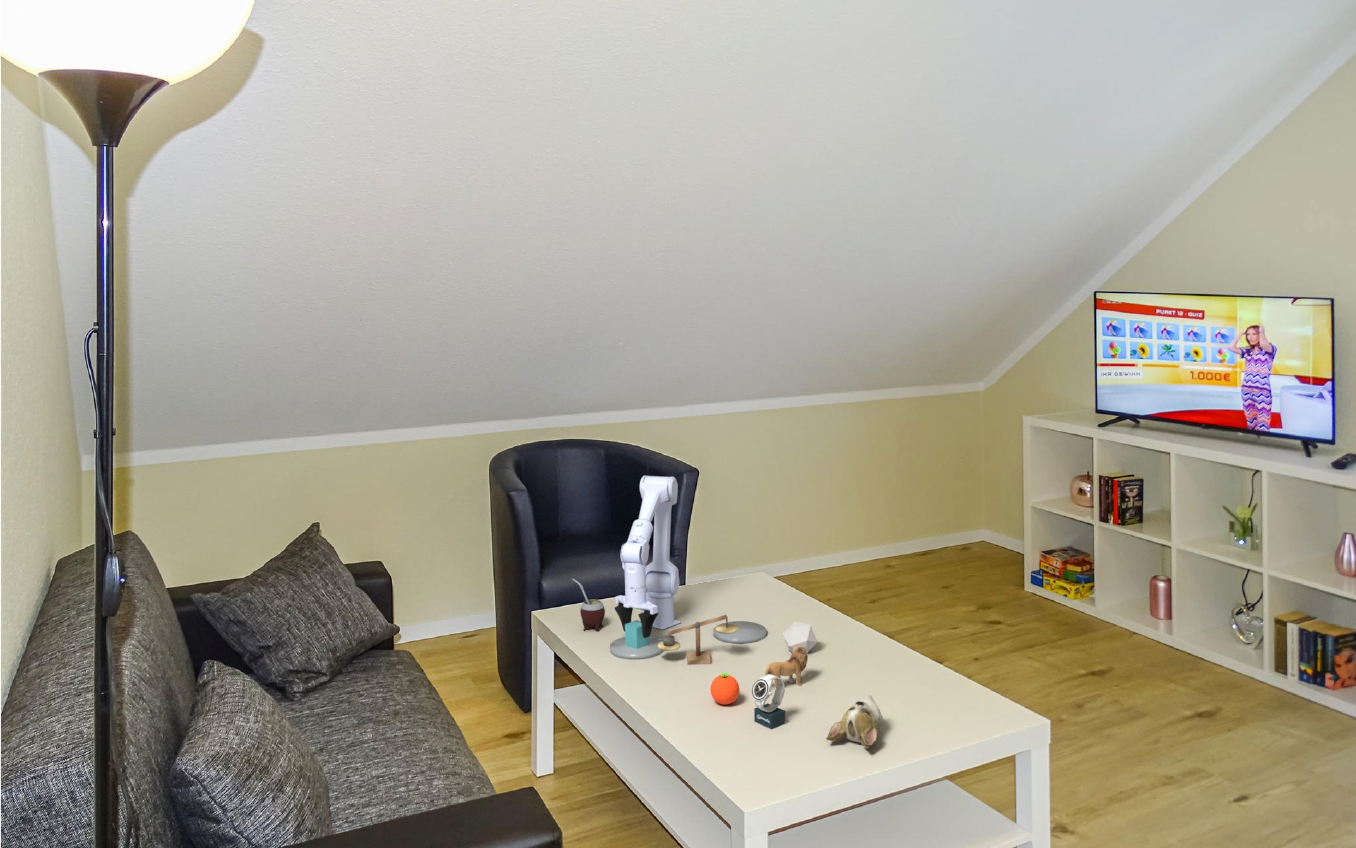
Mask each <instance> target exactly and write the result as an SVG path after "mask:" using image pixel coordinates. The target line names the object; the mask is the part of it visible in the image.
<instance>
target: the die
mask: <svg viewBox="0 0 1356 848" xmlns="http://www.w3.org/2000/svg"><path fill="white" fill-rule="evenodd" d="M782 637H783V640H784V642H785V644H786V648H787V649H788V651H789V652H791V653H792V652H793V649H794V648H795V647H796V646H803V647H805V649H806V650H807V653H809V651H810V650H812V648H813V647H814V646H815V645H816V644H818V641H817V637H816V635H815V632H814V630H813V627H812V625H811V624H809V623H804V622H800V621H797V620H795V621H794V622H793V623H791V625H790V626H789V627H788V628H787V629H785V630H784V631H783V633H782Z"/></svg>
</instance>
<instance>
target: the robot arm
mask: <svg viewBox="0 0 1356 848" xmlns="http://www.w3.org/2000/svg"><path fill="white" fill-rule="evenodd" d="M639 481H640V482H639V492H640V496H641V499H642V501H641V506H640V511H639V515H638V519H635V520H634V521H633V523H632V526H631V529H630V531H629V535H628V538H627V541H626V542H625V543H622V545H621V549H620V561H621V564H622V569H623V571H624V591H625V594H624V595H621V594H620V595H616V596H615V597H614V599H615V605H617V606H615V607H614V610H615V612H616V614H617V616H618V618H619V620H620V623H621V626H622V630H623V632H624V633H625V624H627V623H630V622H632V615H633V610H634V609H637V610H640V611H641V613H638V618H639V619H640V620H639V621H641V624H642V634H643V638H647V637H650V636H651V634H652V629H653V628H655V629H658V630H665V629H668V628H670V627H671V628H672V627H674V626H675V625H679V624H681V620H679V619H678V620H677V619H675V608H674V607H675V606H674V605H675V603H674V602H675V601H674V600H675V595H676V594H677V593H678V591H679V589H680V576H679V568H678V567H677V566H676V565H675V564H673V562H671V561H670V555H671V553H670V551H671V550H670V549H671V525H672V524H671V523H672V506H673V505H676V504H677V502H678V493H679V489H678V487H679V485H678V482H677V479H676V478H675V476H657V475H656V476H655V475H643V476H642V477H641V479H640V480H639ZM653 518H654V519H653ZM652 521H654V522H653V524H652ZM652 533H653V544H652V545H653V548H652V550H653V551H652V561H651V562H649V564H647V562H648V560H649V554H650V553H649V552H650V551H649V550H650V543H649V542H650V539H651V537H652ZM646 564H647V565H646Z"/></svg>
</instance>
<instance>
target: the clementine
mask: <svg viewBox="0 0 1356 848" xmlns="http://www.w3.org/2000/svg"><path fill="white" fill-rule="evenodd" d="M709 690H710V695H711V697H712V699H714V701H715V702H717V704H719V705H720V704H721V705H730V704H732V703H734V702H735V701H736V700H737V698H738V697H739V695H740V684H739V682H738V681H737V679H736V678H735V677H733V676H732V675H730V674H729V673H728V672H723V673H721V674H720V675H718V676H716V677H715V678H714V679H712V682H711V684H710V688H709Z"/></svg>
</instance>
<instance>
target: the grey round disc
mask: <svg viewBox="0 0 1356 848" xmlns="http://www.w3.org/2000/svg"><path fill="white" fill-rule="evenodd" d="M720 624H726V622H723V623H719V624H718V625H720ZM728 624H734V625H736V626H738V631H737V632H735V633H731V634H723V633H719V632H717V631H716V626H715V627H714V628H713V629H712V631H713V632H712V633H713V637H714V638H715V639H716V640H717V641H721V642H723V643H729V644H737V645H738V644H739V645H740V644H741V645H742V644H750V643H751V644H752V643H756V642H759V641H762V640H764V639H765V638H766V637H767V628H766V627H765V626H764V625H763V624H760V623H757V622H753V621H744V620H741V621H740V620H737V621H728Z"/></svg>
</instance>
